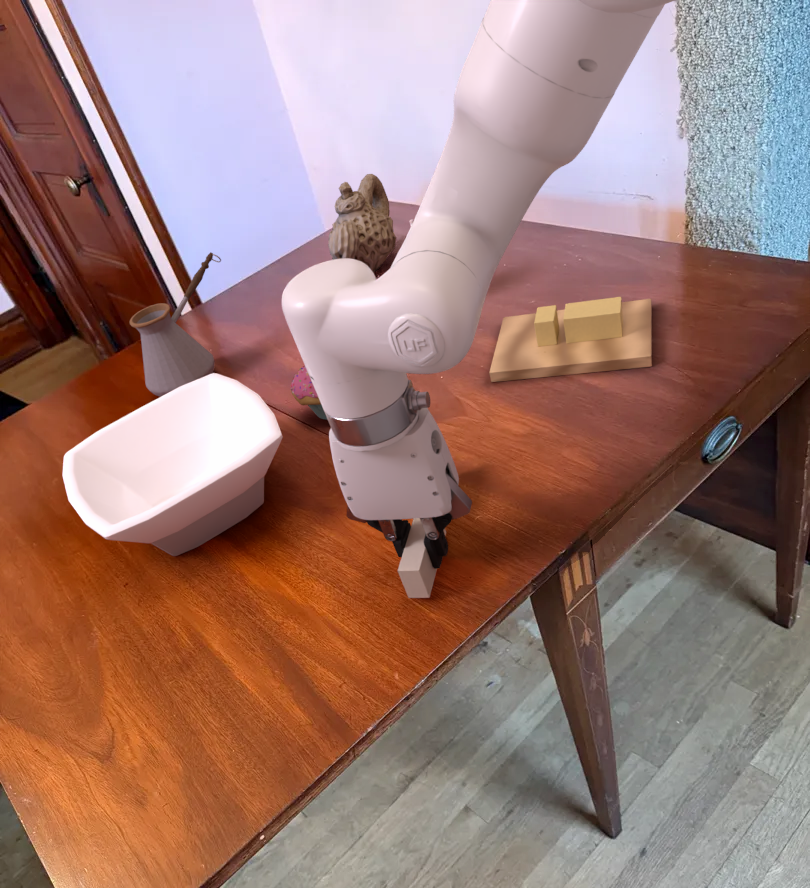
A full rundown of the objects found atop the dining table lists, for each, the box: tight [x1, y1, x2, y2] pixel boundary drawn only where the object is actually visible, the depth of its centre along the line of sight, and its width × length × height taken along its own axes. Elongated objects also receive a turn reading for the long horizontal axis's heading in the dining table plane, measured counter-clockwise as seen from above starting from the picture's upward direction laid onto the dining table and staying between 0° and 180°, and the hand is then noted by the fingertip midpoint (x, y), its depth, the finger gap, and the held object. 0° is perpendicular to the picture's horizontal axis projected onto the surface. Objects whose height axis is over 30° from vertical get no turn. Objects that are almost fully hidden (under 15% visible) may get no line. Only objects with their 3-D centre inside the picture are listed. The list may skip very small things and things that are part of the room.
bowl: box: [61, 372, 284, 557], centre depth 91 cm, size 24×25×10 cm
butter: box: [563, 296, 623, 343], centre depth 96 cm, size 7×4×4 cm, turn 76°
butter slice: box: [534, 304, 559, 347], centre depth 98 cm, size 2×4×4 cm, turn 166°
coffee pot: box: [129, 252, 222, 398], centre depth 117 cm, size 21×12×15 cm, turn 145°
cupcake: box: [289, 365, 328, 421], centre depth 99 cm, size 9×8×12 cm
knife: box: [397, 518, 447, 599], centre depth 78 cm, size 19×2×4 cm, turn 166°
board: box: [488, 298, 653, 383], centre depth 99 cm, size 20×14×2 cm
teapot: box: [327, 173, 397, 274], centre depth 130 cm, size 21×12×15 cm, turn 159°
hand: (425, 557), depth 75 cm, fingers closed on knife, 2 cm apart
